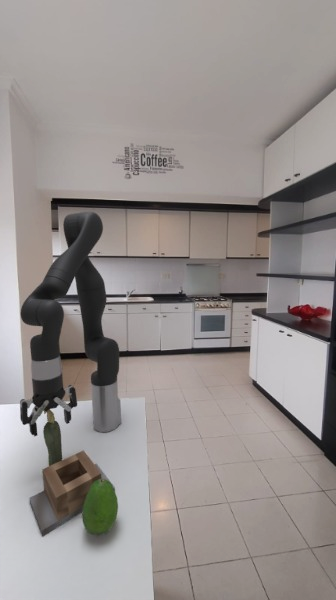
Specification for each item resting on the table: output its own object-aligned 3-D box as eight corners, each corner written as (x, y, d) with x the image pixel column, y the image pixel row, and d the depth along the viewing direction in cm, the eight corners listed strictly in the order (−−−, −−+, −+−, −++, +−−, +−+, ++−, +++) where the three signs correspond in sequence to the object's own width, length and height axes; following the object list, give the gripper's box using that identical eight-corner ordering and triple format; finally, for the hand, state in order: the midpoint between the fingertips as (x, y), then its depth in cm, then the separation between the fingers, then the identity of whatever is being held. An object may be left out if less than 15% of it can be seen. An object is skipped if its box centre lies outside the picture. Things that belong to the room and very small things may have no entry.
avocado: (120, 539, 60) (118, 490, 58) (83, 550, 57) (79, 500, 56) (116, 507, 67) (114, 463, 65) (83, 516, 65) (80, 471, 63)
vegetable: (67, 470, 79) (62, 406, 76) (56, 481, 75) (50, 414, 72) (54, 466, 81) (49, 403, 78) (43, 477, 77) (37, 411, 74)
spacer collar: (96, 468, 80) (95, 444, 79) (115, 492, 72) (113, 466, 71) (29, 503, 69) (27, 476, 68) (42, 536, 60) (39, 506, 59)
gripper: (68, 362, 81) (72, 413, 83) (14, 375, 72) (20, 432, 74) (78, 370, 75) (81, 424, 78) (20, 385, 66) (26, 446, 69)
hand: (51, 428), depth 76 cm, fingers open, 8 cm apart
